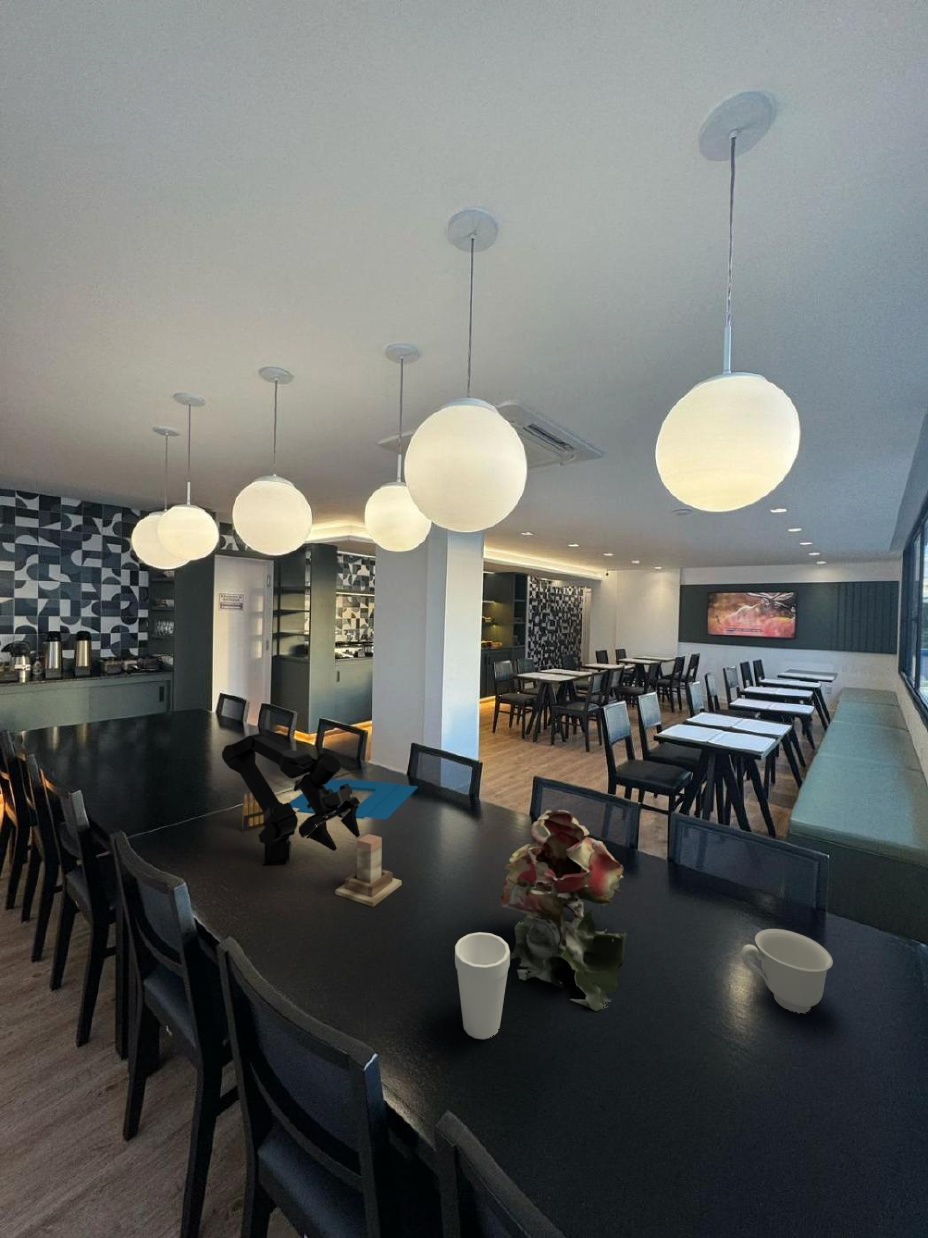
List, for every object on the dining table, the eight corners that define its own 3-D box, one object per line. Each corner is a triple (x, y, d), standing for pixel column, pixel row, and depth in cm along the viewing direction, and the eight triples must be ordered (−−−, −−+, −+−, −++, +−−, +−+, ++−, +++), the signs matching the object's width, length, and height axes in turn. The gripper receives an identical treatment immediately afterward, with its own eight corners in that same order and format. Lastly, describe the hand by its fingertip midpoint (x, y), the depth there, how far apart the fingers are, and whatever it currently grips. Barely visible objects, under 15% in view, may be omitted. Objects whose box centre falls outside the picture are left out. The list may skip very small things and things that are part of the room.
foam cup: (452, 1005, 93) (453, 933, 93) (503, 1002, 94) (504, 931, 94) (456, 1049, 83) (457, 969, 83) (512, 1045, 84) (513, 966, 84)
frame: (417, 789, 212) (417, 784, 212) (384, 825, 177) (384, 819, 177) (326, 781, 222) (326, 776, 222) (277, 814, 186) (277, 808, 186)
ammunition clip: (242, 831, 167) (243, 795, 167) (241, 830, 168) (241, 793, 168) (275, 823, 174) (276, 788, 174) (273, 821, 175) (273, 786, 175)
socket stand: (335, 894, 130) (335, 880, 130) (365, 873, 140) (365, 860, 140) (373, 907, 124) (373, 892, 124) (401, 884, 135) (401, 871, 135)
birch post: (356, 887, 131) (357, 840, 131) (367, 879, 135) (368, 834, 135) (370, 891, 129) (371, 844, 129) (381, 883, 133) (381, 837, 133)
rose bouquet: (629, 928, 117) (630, 796, 117) (613, 1021, 90) (615, 849, 90) (520, 903, 127) (522, 781, 127) (477, 979, 100) (479, 825, 100)
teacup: (728, 975, 101) (728, 925, 101) (808, 982, 100) (808, 930, 100) (756, 1023, 89) (757, 966, 89) (847, 1031, 88) (848, 973, 88)
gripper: (307, 786, 130) (340, 839, 125) (355, 768, 146) (386, 814, 141) (284, 811, 133) (315, 864, 128) (333, 790, 150) (363, 836, 145)
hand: (347, 843), depth 136 cm, fingers open, 9 cm apart
